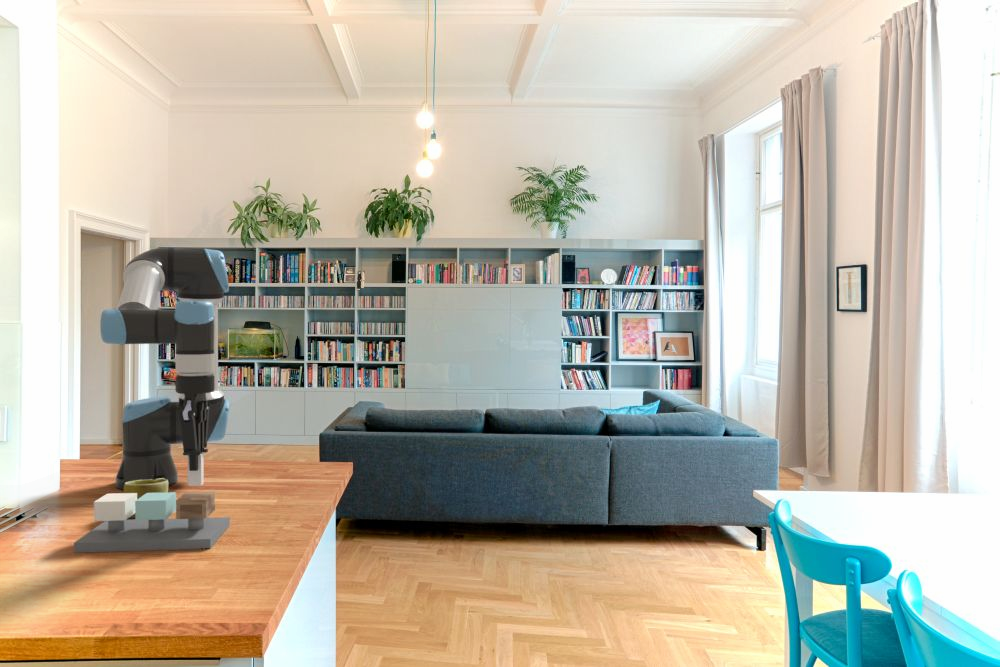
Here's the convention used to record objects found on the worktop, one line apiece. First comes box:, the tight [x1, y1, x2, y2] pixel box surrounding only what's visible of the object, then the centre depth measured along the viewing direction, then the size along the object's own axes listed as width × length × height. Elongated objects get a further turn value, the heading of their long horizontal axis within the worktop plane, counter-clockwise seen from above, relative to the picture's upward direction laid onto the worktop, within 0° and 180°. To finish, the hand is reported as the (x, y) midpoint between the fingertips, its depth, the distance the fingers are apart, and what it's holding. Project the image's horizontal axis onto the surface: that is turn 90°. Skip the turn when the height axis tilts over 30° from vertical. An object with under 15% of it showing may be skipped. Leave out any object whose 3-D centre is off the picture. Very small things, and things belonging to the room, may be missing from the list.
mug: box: [123, 478, 169, 520], centre depth 158 cm, size 12×10×10 cm
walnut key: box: [175, 491, 216, 519], centre depth 142 cm, size 6×6×4 cm
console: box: [73, 516, 231, 553], centre depth 142 cm, size 14×26×5 cm, turn 97°
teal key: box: [135, 491, 177, 520], centre depth 141 cm, size 6×6×4 cm
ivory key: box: [93, 492, 137, 522], centre depth 140 cm, size 6×6×4 cm
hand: (195, 484), depth 142 cm, fingers closed
